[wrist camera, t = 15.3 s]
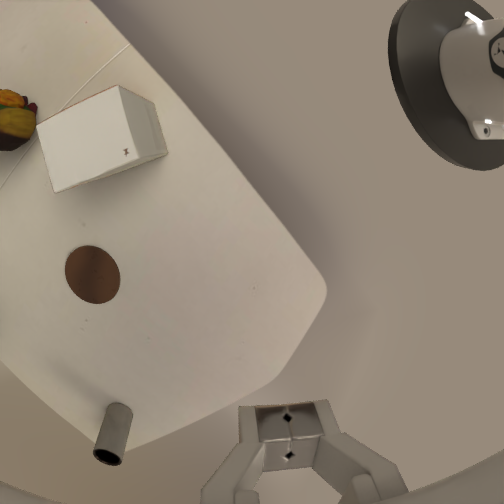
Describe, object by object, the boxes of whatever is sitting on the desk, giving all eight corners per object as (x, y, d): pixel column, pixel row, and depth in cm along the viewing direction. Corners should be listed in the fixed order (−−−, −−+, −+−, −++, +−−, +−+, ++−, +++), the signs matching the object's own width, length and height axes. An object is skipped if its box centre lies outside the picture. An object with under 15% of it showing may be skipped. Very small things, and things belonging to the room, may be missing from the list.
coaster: (116, 245, 37) (115, 245, 37) (124, 303, 40) (123, 304, 39) (61, 246, 36) (60, 246, 36) (71, 301, 39) (71, 302, 39)
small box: (154, 102, 32) (119, 82, 20) (169, 154, 34) (141, 159, 22) (91, 127, 32) (33, 124, 20) (106, 177, 34) (53, 196, 22)
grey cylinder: (121, 423, 47) (109, 468, 37) (102, 407, 45) (86, 452, 36) (138, 415, 46) (127, 462, 37) (119, 399, 45) (104, 446, 35)
